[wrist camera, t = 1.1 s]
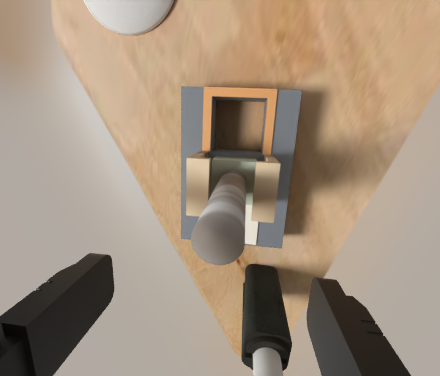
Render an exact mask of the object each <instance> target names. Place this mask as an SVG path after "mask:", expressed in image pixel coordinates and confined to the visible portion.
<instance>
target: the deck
mask: <svg viewBox="0 0 440 376" xmlns="http://www.w3.org/2000/svg"><path fill="white" fill-rule="evenodd" d="M301 94H302V90H286V89H262V88H228V87H185V86H181V239H190V240H191V235H192V231H193V229H194V227H195V225H196V223H197V221H198V219H199V216H187V215H186V160H187V157H189V156H191V155H193V154H195V153H197V152H199V151H208V158H211V169H210V197H211V171H212V159H213V158H214V157H215V156H229V157H246V158H256V160H257V161H264V155H273V156H274V157H275V158H276V159H277V160H278V161H279V163H280V172H279V181H278V190H277V199H276V208H275V217H274V223H268V222H257V221H251V212H252V205H246V213H245V245H252V246H262V247H273V248H282V243H283V235H284V227H285V219H286V212H287V204H288V196H289V188H290V180H291V172H292V164H293V156H294V149H295V141H296V133H297V125H298V117H299V109H300V101H301ZM216 100H226V101H254V102H265V108H264V119H263V130H262V141H261V151H248V150H231V149H215V126H216ZM209 199H210V198H209Z"/></svg>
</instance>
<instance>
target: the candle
mask: <svg viewBox="0 0 440 376" xmlns="http://www.w3.org/2000/svg"><path fill="white" fill-rule="evenodd" d="M291 347H292V342H291V337H290V332H289V327H288V322H287V317H286V312H285V307H284V303H283V298H282V293H281V288H280V283H279V278H278V273H277V270H276V269H275V268H273V267H270V266H263V265H256V264H250V265H248V266H247V267H246V269H245V283H244V284H243V320H242V362H243V363H244V364H245V365H246V366H248V367H250V368H251V369H252V370H253V376H283V371H284V370H285V369H286V368H287V366H288V361H289V357H290V352H291Z"/></svg>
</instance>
